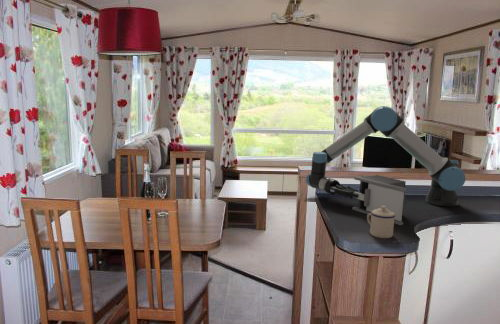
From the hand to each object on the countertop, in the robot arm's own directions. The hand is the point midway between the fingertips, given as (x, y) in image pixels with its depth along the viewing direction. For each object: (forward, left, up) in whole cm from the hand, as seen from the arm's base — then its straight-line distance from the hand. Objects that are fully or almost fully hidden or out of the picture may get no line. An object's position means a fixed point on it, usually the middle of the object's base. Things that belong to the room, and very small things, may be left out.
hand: (364, 197), depth 183 cm
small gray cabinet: (-10, +1, -8) cm, 12 cm away
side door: (-6, +8, -6) cm, 11 cm away
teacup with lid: (+3, +26, -8) cm, 28 cm away
